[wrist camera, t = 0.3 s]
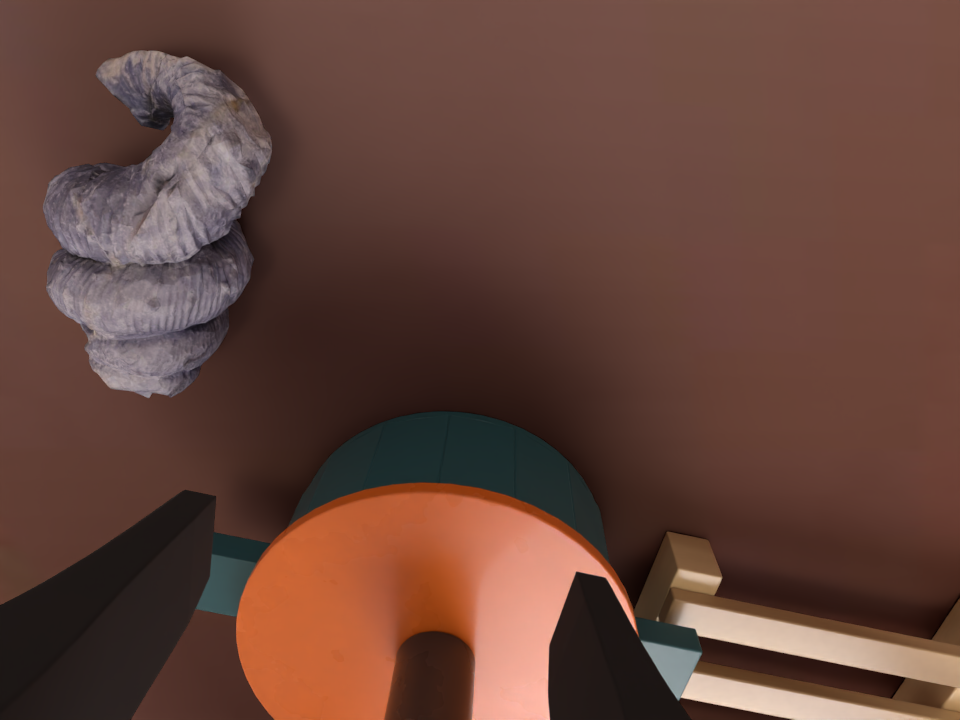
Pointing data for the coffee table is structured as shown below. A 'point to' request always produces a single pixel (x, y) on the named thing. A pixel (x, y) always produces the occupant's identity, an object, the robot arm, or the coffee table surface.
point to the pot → (463, 461)
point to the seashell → (159, 226)
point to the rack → (797, 648)
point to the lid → (412, 607)
